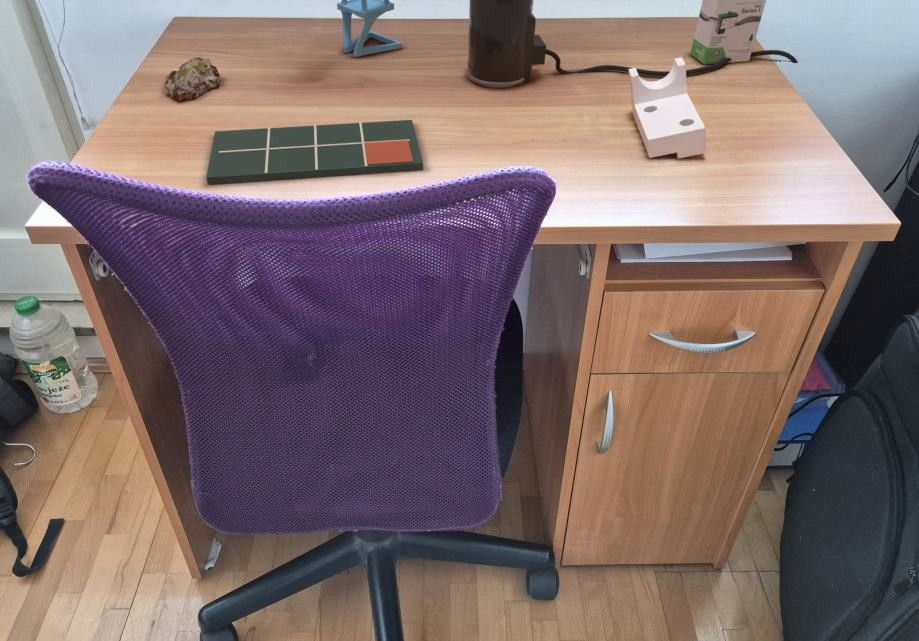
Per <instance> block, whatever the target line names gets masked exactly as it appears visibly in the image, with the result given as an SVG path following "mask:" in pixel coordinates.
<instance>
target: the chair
mask: <svg viewBox="0 0 919 641" xmlns="http://www.w3.org/2000/svg"><path fill="white" fill-rule="evenodd" d="M336 8H337V9H336V10H338V11H340V12H341V17H342V31H343V32H342V33H343V53H345V54H346V53H347V54H348V53H351V52H353V57H355V58H358V57H359V58H360V57H364V56H367V55H372V54H373V55H374V54H378V53H383V52H388V51H394V50H399V49H402V42H401V41H399V40H396V39H394V38H391V37H389V36H385V35H383V34H380V33H377V32H375V31H372V30H371V29H372V27H373V25H374V23H375V22H376V21H377V19H378V18H379V17H381V16H382V15H383V14H385V13H386V12H390V11H393V10H395V3H393V2H391V1H390V0H341V2H338V3H336ZM353 15H354V16H356V17H358V18H361V19H363V20H364V22H363V27H362V30H361V32H360V36H357V38H354V40H352V16H353ZM369 39H374V40H377V41H380V42H382V43H383V44H379V45H378V44H376V45H370V46H365V47H364V44H365V43H366V41H368V40H369Z"/></svg>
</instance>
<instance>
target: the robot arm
mask: <svg viewBox="0 0 919 641" xmlns="http://www.w3.org/2000/svg"><path fill="white" fill-rule="evenodd" d="M533 10H534V0H469V10H468V11H469V13H468V48H467V50H468V52H467V54H468V57H467V71H466V75H467V78H468V80H470V81H471V82H472V83H474V84H476V85H478V86H482V87H487V88H493V89H494V88H495V89H496V88H498V89H505V88H513V87H517V86H519V85H520V86H521V85H522V84H525V83H531V82H532V74H533V66H540V65H541V66H542V65H545V64H546V63H545V61H546V55H547V56H549V57H552V58H553V59H554V61H555V70H556V72H557V73H559V74H561V75H572V74H587V73H594V72H599V71H615V72H624V73H625V72H626V73H629V70H628V69H631V68H632V67H629V66H623V65H613V64H600V65H596V66H591V67H587V68H585V69H579V70H575V71H568V70H565V69H564V68H562V67H561V63H562V62H561V58H560V56H559V55H558V54H557V53H556V52H555V51H553V50H550V49H548V48H547V44H546V43H545V41H544V40H543V38H542V36H540V34H536V25H537V24H536V23H537V19H536V16H535V15H534V14H533ZM762 56H780V57H784V58H786V59H788V60H789V61H790V62H791V63H793V64H798V63H799V61H798V60H797V58H795V56H794V55H792V54H791V53H790V52H787V51H785V50H780V49H765V50H758V51H752V52H751V56H750V58H756V57H762ZM731 60H732V59H731V58H726V59H724V60H722V61H720V62H718V63H716V64H709V65H706V66H701V67H697V68H690V69H686V76H688V75H694V74H699V73H704V72H709V71H713V70H715V69H718V68H721V67H722V66H724V65H726V64H728V62H729V63H731V62H730V61H731ZM636 70H637V72H638V75H643V76H651V77H666V76H667V75H668V74H669V73H670V71H671V70H667V71H665V70H663V71H661V70H648V69H643V68H642V69H641V68H636Z"/></svg>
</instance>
